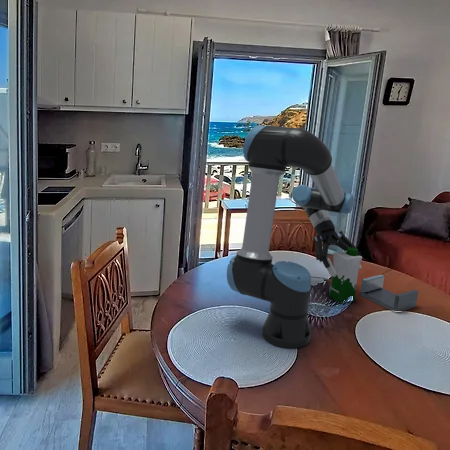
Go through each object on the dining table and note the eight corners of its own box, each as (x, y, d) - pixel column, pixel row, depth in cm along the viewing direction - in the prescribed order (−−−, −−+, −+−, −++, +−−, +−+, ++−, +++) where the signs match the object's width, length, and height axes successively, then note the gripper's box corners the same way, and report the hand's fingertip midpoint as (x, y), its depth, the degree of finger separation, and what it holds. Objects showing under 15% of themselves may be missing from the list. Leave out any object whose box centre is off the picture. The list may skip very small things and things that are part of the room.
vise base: (415, 307, 164) (418, 291, 162) (396, 313, 158) (399, 296, 156) (378, 290, 178) (381, 275, 176) (360, 295, 172) (362, 279, 170)
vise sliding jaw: (383, 287, 176) (385, 276, 174) (364, 292, 170) (366, 281, 169) (379, 286, 177) (381, 274, 176) (360, 291, 172) (362, 279, 170)
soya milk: (358, 301, 166) (365, 252, 161) (339, 305, 162) (346, 254, 157) (343, 292, 174) (349, 244, 168) (325, 295, 170) (330, 246, 165)
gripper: (339, 225, 183) (362, 270, 175) (293, 232, 170) (316, 281, 162) (350, 215, 177) (375, 262, 169) (304, 222, 164) (328, 273, 156)
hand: (346, 272), depth 165 cm, fingers open, 13 cm apart
